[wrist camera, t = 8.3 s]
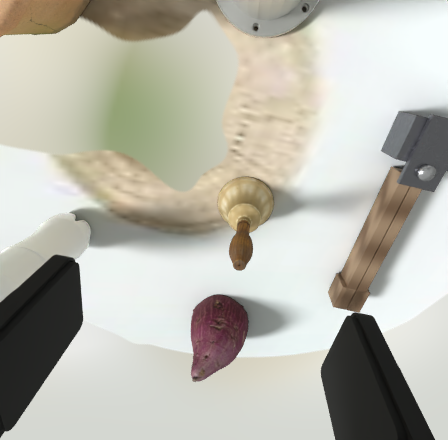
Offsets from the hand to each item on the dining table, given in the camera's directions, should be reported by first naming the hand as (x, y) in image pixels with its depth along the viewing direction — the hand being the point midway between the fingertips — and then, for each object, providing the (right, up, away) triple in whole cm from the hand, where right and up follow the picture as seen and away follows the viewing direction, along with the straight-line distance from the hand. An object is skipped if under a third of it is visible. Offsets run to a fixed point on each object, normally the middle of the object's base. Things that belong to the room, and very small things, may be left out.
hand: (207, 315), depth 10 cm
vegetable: (0, -14, +44) cm, 46 cm away
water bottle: (-24, +2, +38) cm, 45 cm away
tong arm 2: (+21, +1, +33) cm, 40 cm away
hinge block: (+25, +13, +28) cm, 39 cm away
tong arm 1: (+23, 0, +34) cm, 41 cm away
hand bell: (+4, +6, +33) cm, 34 cm away
